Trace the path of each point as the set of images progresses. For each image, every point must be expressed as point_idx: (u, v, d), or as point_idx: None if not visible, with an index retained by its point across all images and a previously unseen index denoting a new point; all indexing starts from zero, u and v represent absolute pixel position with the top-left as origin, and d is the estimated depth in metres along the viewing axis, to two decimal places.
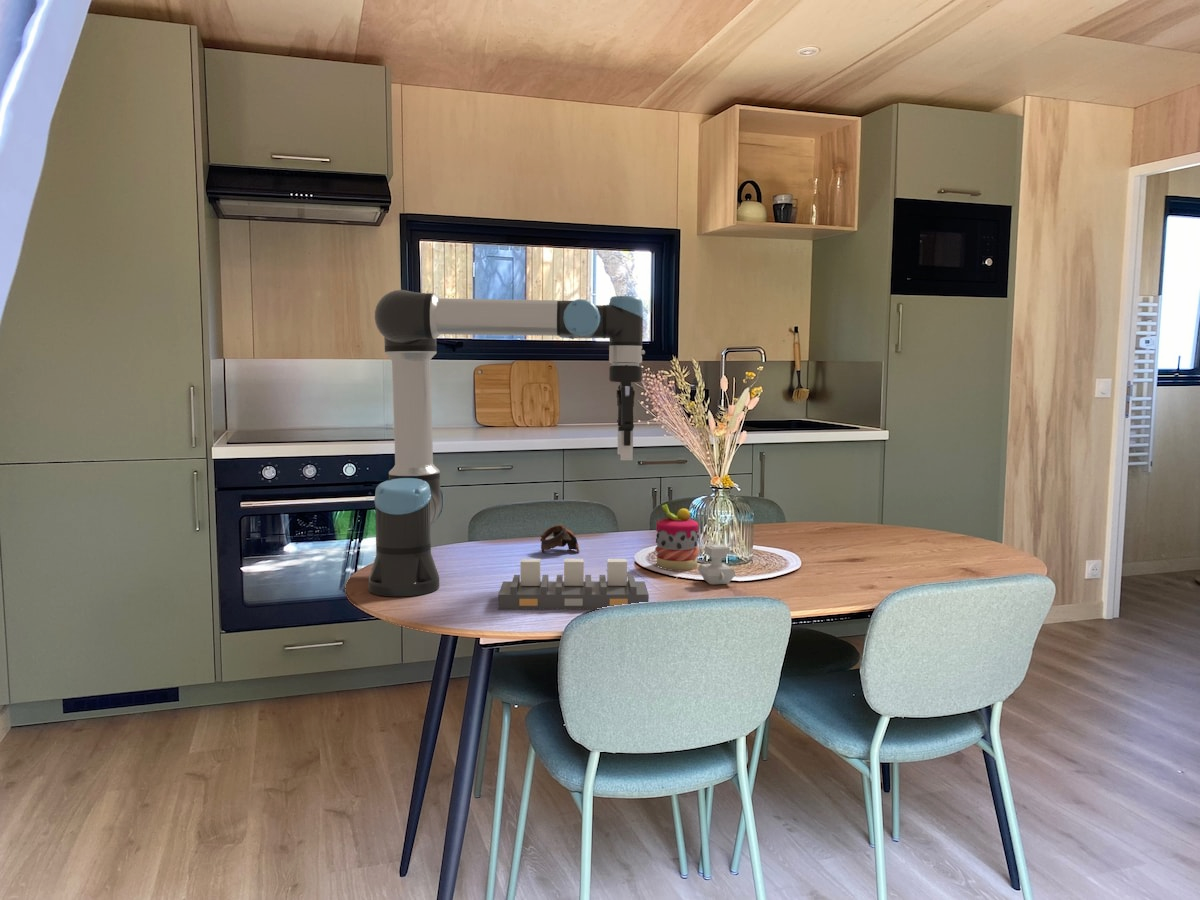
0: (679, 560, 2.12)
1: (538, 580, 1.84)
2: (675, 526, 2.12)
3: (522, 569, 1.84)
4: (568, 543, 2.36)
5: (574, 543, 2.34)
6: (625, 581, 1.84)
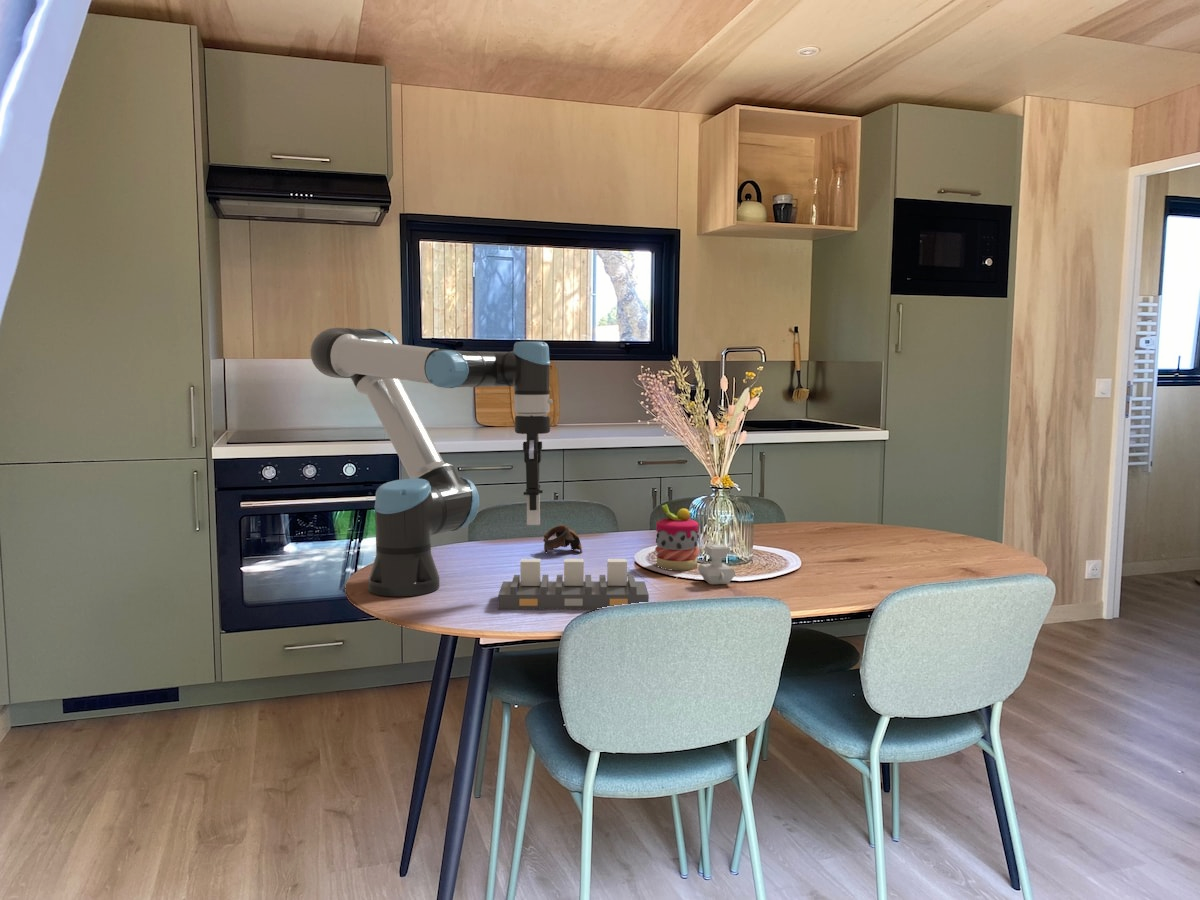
0: (679, 560, 2.12)
1: (538, 580, 1.84)
2: (675, 526, 2.12)
3: (522, 569, 1.84)
4: (571, 543, 2.36)
5: (577, 543, 2.34)
6: (625, 581, 1.84)
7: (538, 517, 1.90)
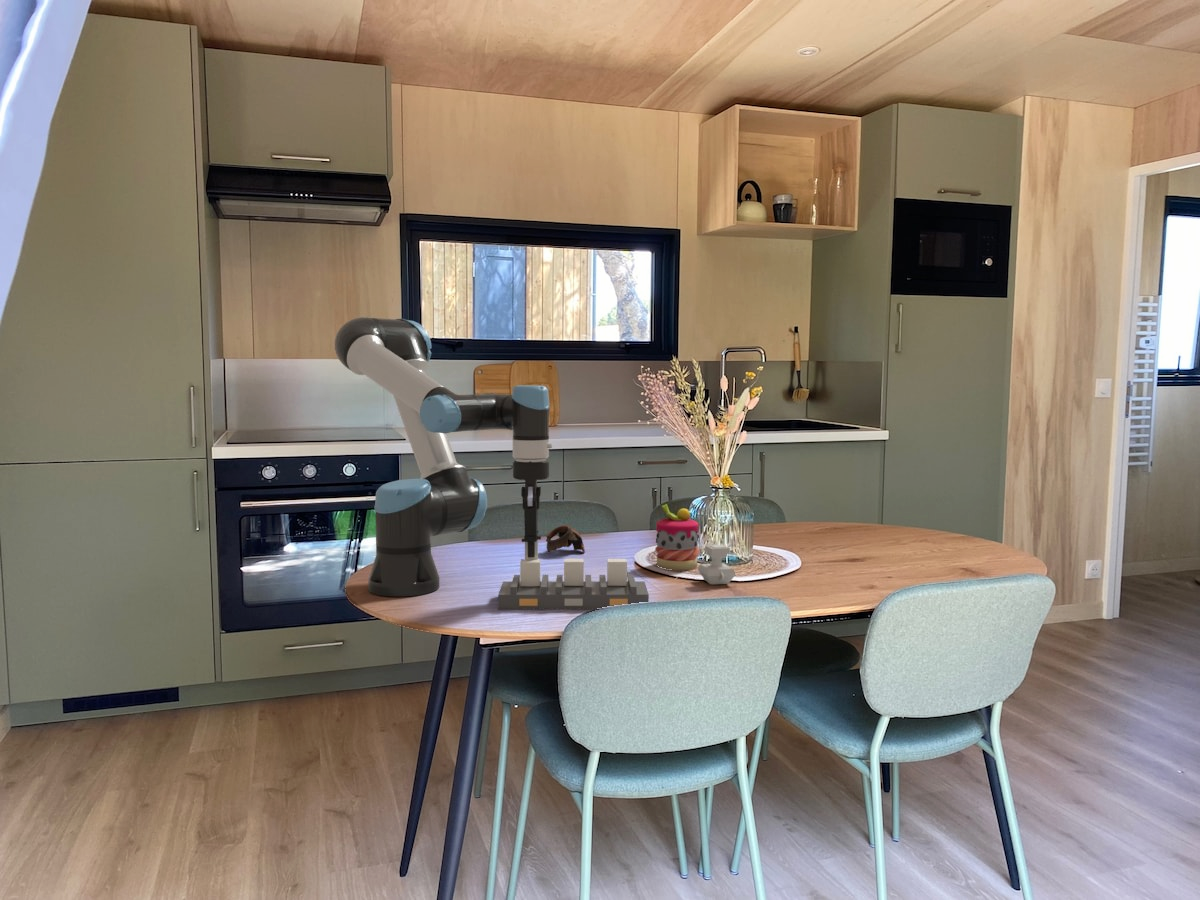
0: (679, 560, 2.12)
1: (538, 581, 1.83)
2: (675, 526, 2.12)
3: (522, 570, 1.83)
4: (573, 543, 2.36)
5: (579, 543, 2.34)
6: (625, 581, 1.84)
7: None
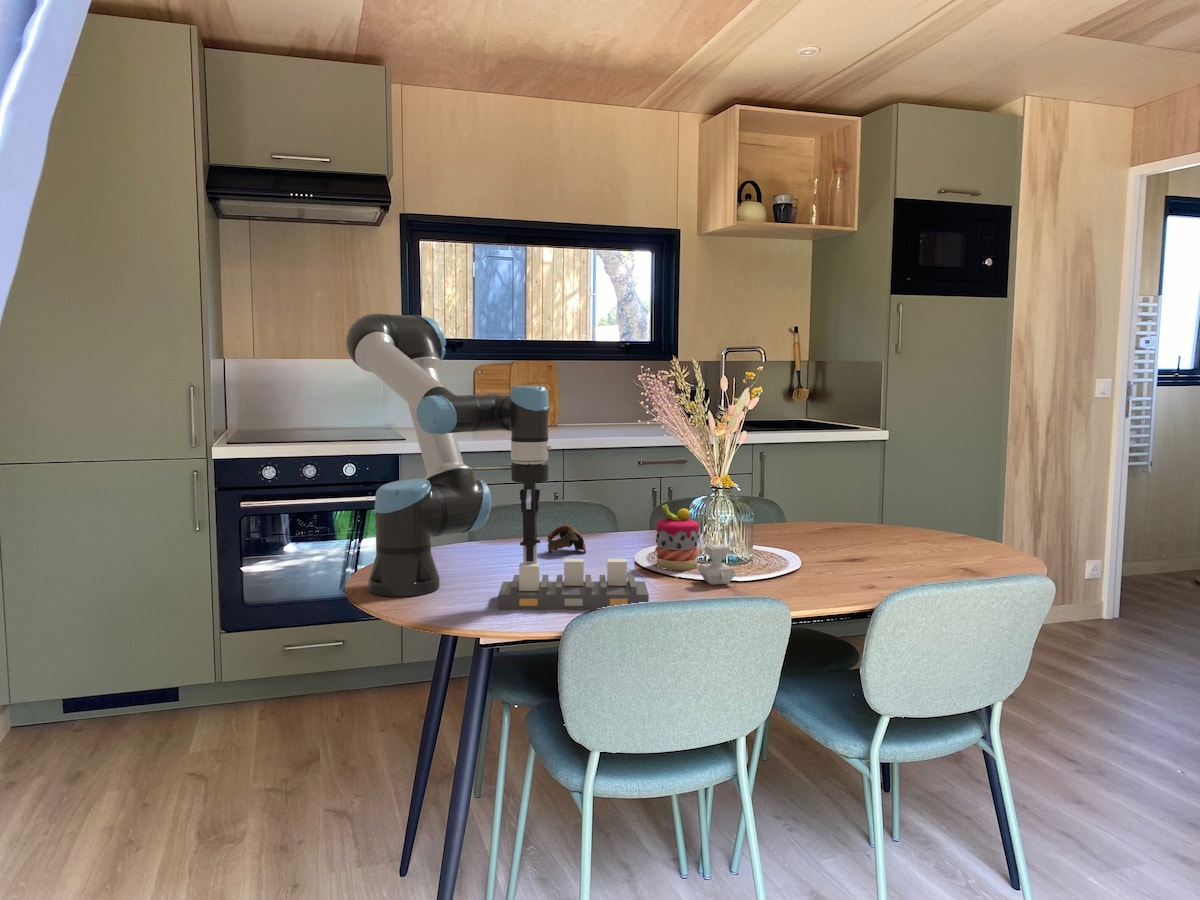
0: (679, 560, 2.12)
1: (537, 585, 1.80)
2: (675, 526, 2.12)
3: (521, 574, 1.79)
4: (574, 543, 2.35)
5: (581, 543, 2.33)
6: (625, 581, 1.84)
7: None
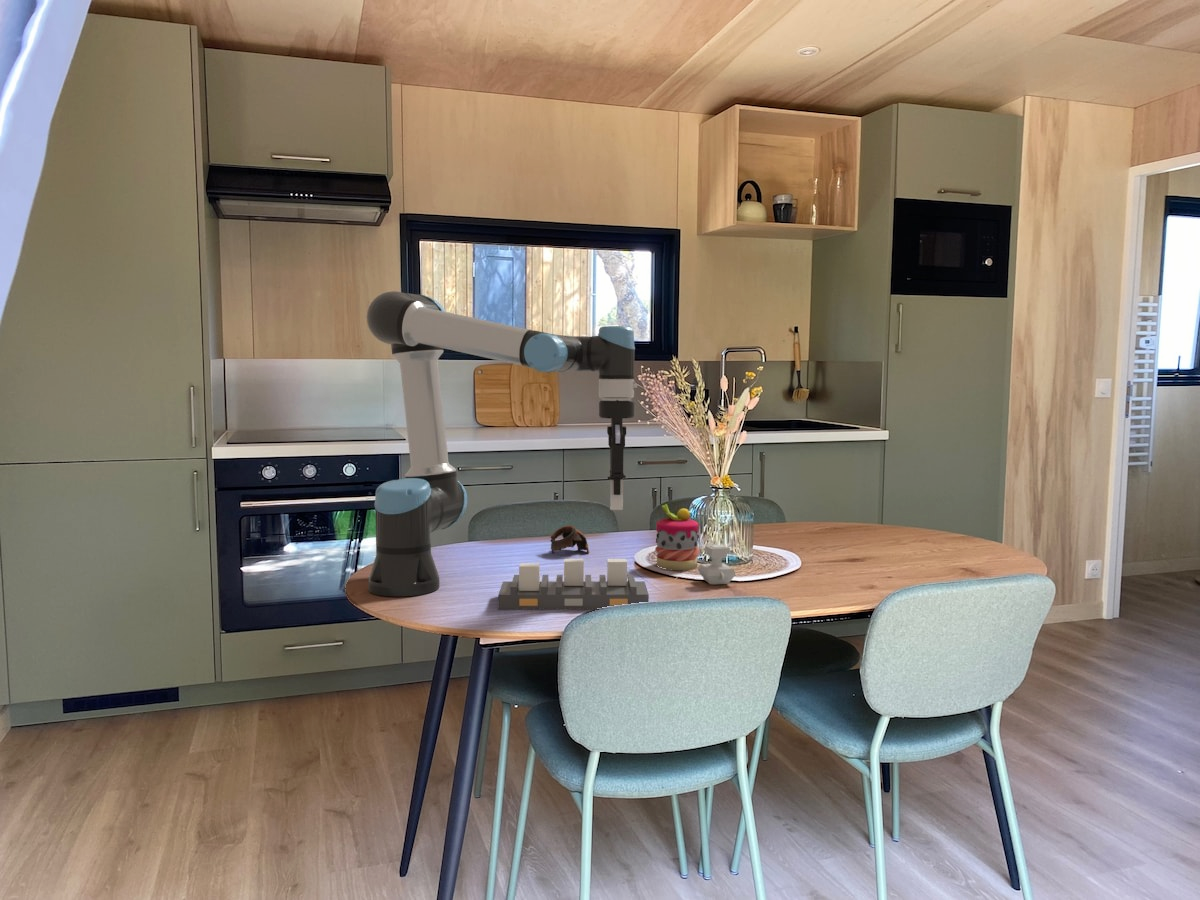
0: (679, 560, 2.12)
1: (537, 585, 1.80)
2: (675, 526, 2.12)
3: (521, 574, 1.79)
4: (577, 544, 2.35)
5: (584, 543, 2.33)
6: (625, 581, 1.84)
7: (622, 502, 1.91)
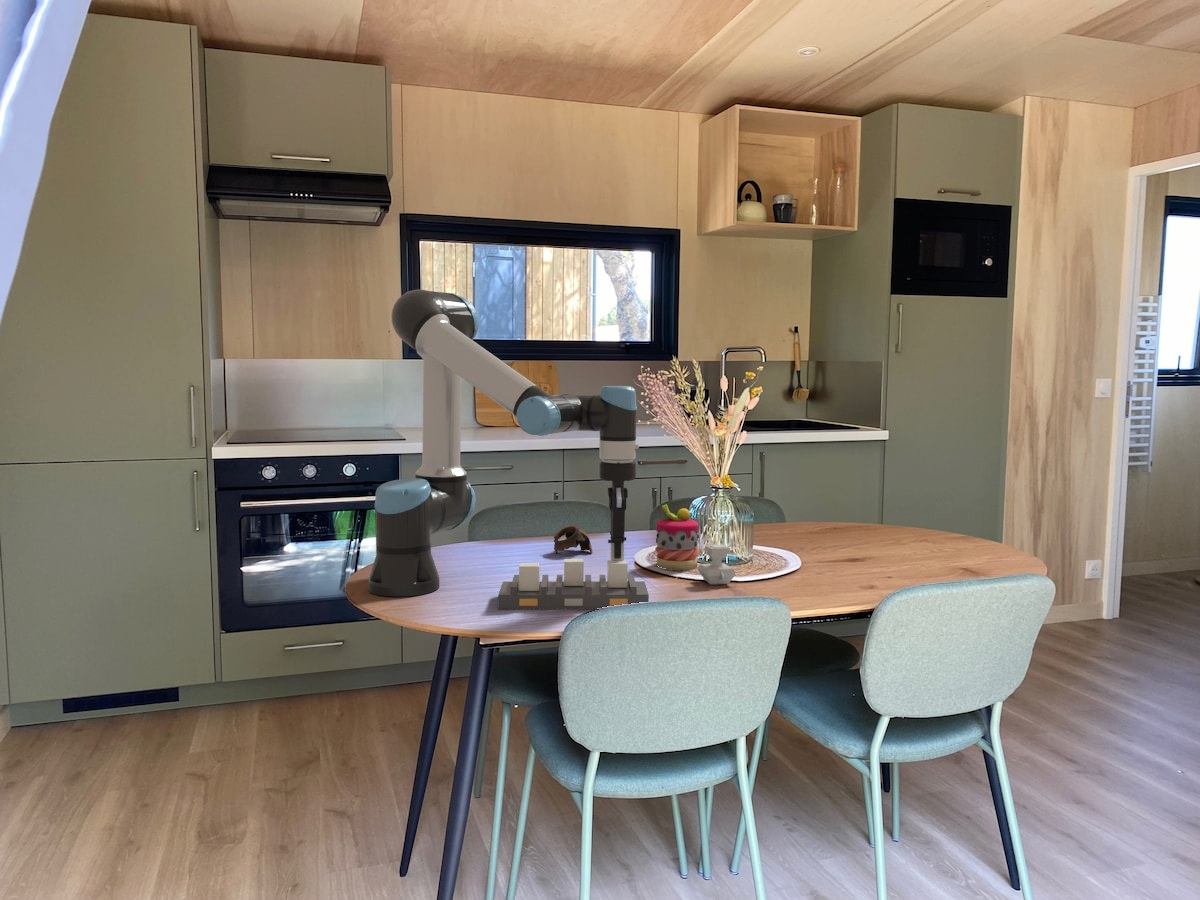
0: (679, 560, 2.12)
1: (537, 585, 1.80)
2: (675, 526, 2.12)
3: (521, 574, 1.79)
4: (580, 544, 2.35)
5: (587, 544, 2.33)
6: (625, 583, 1.83)
7: None
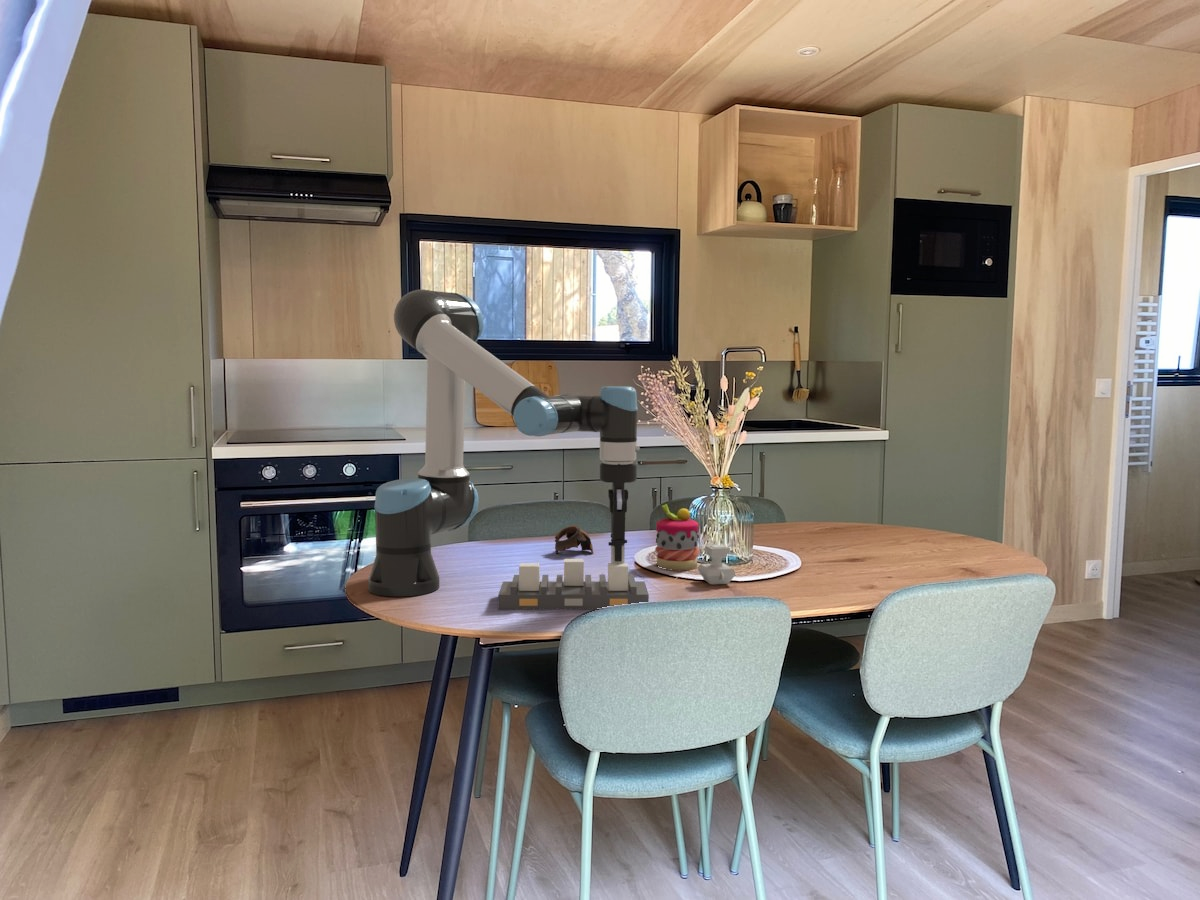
0: (679, 560, 2.12)
1: (537, 585, 1.80)
2: (675, 526, 2.12)
3: (521, 574, 1.79)
4: (581, 544, 2.35)
5: (588, 544, 2.33)
6: (626, 586, 1.80)
7: None
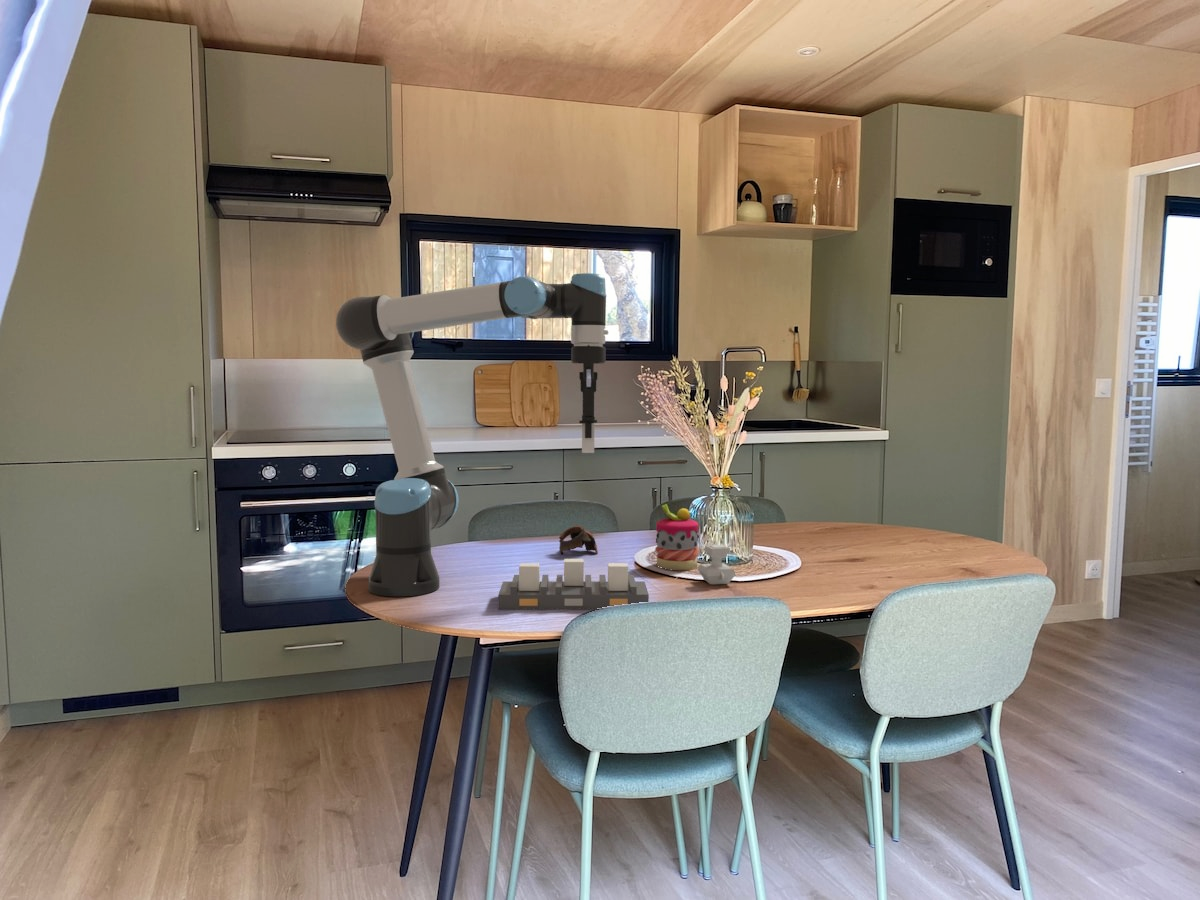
0: (679, 560, 2.12)
1: (537, 585, 1.80)
2: (675, 526, 2.12)
3: (521, 574, 1.79)
4: (585, 544, 2.35)
5: (592, 544, 2.33)
6: (626, 586, 1.80)
7: (593, 445, 1.96)
